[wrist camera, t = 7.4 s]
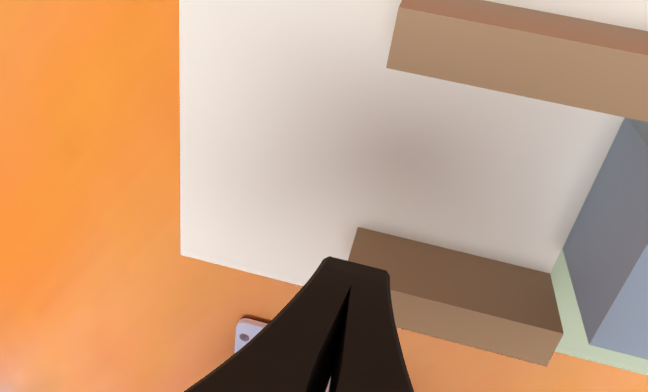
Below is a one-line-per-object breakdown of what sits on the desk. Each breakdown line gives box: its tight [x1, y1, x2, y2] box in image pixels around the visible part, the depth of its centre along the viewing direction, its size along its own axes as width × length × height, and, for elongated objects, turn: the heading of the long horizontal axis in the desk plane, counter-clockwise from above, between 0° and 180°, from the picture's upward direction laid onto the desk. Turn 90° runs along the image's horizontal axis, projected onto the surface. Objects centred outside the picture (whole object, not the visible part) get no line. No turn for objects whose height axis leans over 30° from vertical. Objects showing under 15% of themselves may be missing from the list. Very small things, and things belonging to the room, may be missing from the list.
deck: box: [179, 0, 648, 375], centre depth 17 cm, size 14×28×6 cm, turn 82°
